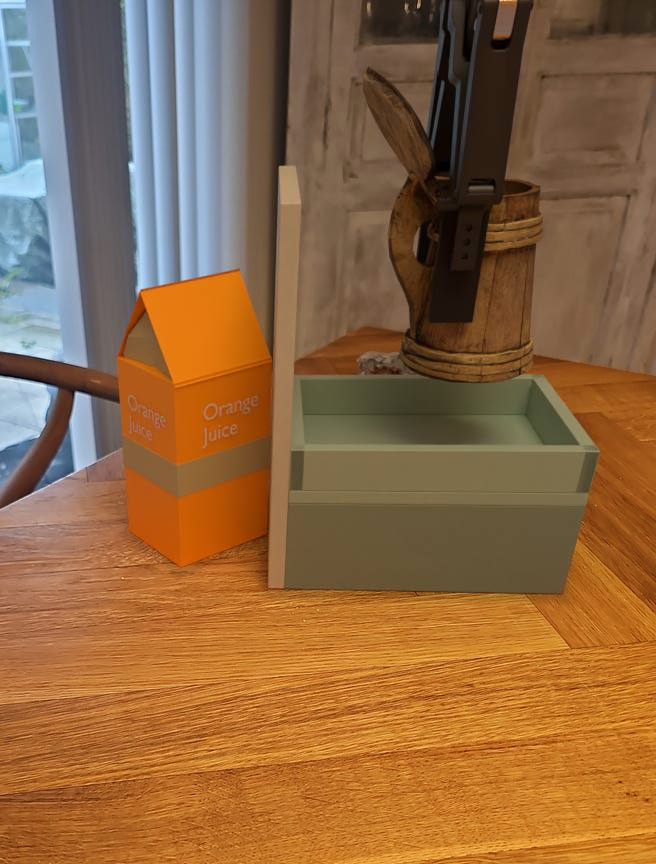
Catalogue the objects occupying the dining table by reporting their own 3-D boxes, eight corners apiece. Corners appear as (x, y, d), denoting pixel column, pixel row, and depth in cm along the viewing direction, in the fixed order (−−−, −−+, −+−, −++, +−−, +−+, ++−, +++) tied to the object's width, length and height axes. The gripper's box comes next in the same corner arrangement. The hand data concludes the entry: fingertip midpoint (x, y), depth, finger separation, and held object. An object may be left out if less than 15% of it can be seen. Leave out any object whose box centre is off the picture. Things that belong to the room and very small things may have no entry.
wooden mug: (321, 355, 64) (338, 62, 54) (494, 337, 66) (543, 50, 55) (364, 398, 57) (393, 71, 47) (556, 377, 59) (626, 56, 48)
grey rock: (366, 404, 95) (369, 366, 93) (352, 380, 101) (354, 344, 99) (464, 398, 95) (469, 361, 93) (444, 375, 101) (449, 339, 99)
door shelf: (516, 500, 75) (588, 158, 60) (563, 594, 63) (668, 195, 48) (268, 497, 77) (278, 165, 62) (268, 588, 65) (280, 203, 50)
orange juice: (268, 534, 72) (276, 277, 60) (180, 568, 68) (170, 301, 56) (211, 500, 77) (208, 258, 66) (127, 530, 73) (107, 279, 62)
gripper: (406, -119, 55) (371, 270, 68) (462, -174, 39) (401, 351, 52) (531, -126, 54) (470, 269, 67) (641, -184, 38) (532, 350, 51)
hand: (440, 304), depth 60 cm, fingers closed on wooden mug, 7 cm apart
